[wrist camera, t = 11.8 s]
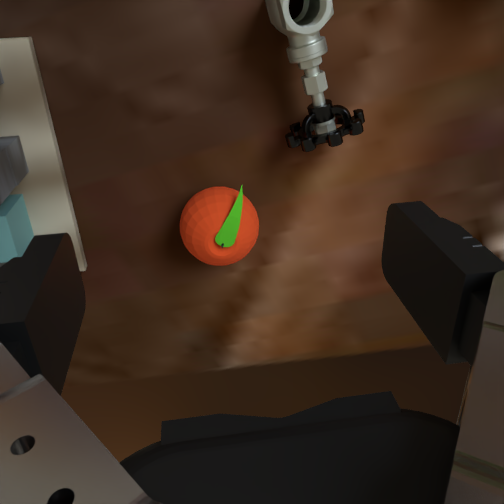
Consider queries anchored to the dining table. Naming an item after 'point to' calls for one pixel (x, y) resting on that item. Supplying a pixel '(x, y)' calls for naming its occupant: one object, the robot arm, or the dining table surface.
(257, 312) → the dining table surface
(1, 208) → the spacer
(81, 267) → the frame
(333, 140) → the valve
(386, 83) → the dining table surface
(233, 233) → the clementine
